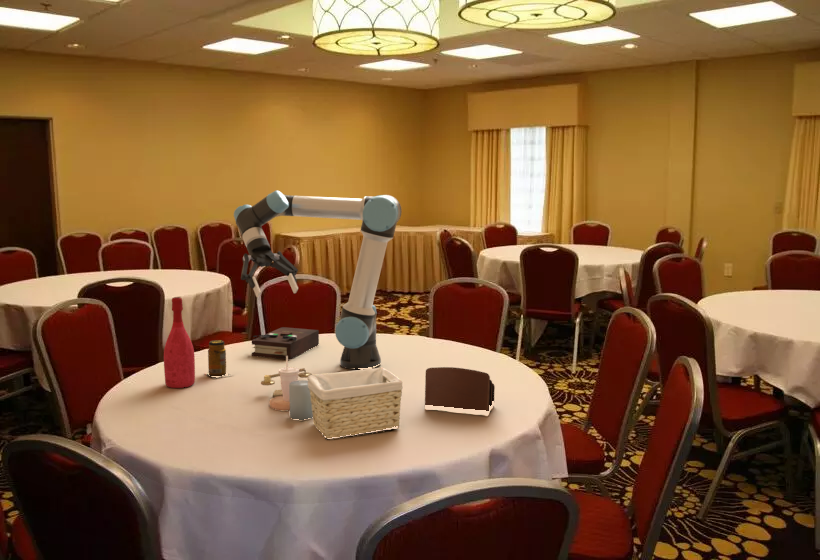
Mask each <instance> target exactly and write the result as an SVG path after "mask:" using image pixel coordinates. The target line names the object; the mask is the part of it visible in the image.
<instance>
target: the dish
mask: <svg viewBox="0 0 820 560" xmlns="http://www.w3.org/2000/svg"><path fill="white" fill-rule="evenodd" d="M269 407H270V408H271V409H272V410H275V409H276V411H281V410H288V411H287V412H290V406H289V402H286V401H284V400H283V395H282V396H277V397H272V398H271V399H270V400H269Z"/></svg>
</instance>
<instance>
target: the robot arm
mask: <svg viewBox="0 0 820 560" xmlns="http://www.w3.org/2000/svg"><path fill="white" fill-rule="evenodd" d="M282 216H283V217H301V218H303V217H304V218H319V219H321V218H322V219H323V218H324V219H338V220H340V219H341V220H355V221H356V220H358V221H360V220H361V221H362V222H361V226H360V232H361V234H362V235H363V237H362V241H361V244H360V245H361V246H360V249H359V254H358V259H357V262H356V268H355V271H354V276H353V279H352V284H351V289H350V292H349V298H348V301H347V302H346V303H344V304H343V305H342V308H341V313H340V317H339V320H338V322H337V324H336V325H335V329H334V330H335V331H334V333H335V337H336V340H337V341H338V343H339V344H340V345H342V346H343V350H342V353H341V356H340V360H339V363H340V364H341V365H340V364H339V365H340V366H341V367H342V366H343V367H342V368H344V367H346V368H345V369H347V368H355V369H358V368H368V367H373V366H376V365H378V364H380V363H381V361H382V359H381V355H380V353H379V350H378V346H377V314H378V312H377V307H376V305H374V300H375V296H376V293H377V288H378V284H379V281H380V280H379V279H380V275H381V271H382V268H383V264H384V258H385V255H386V250H387V246H388V242H390V241H391V240H393V239H394V235H395V232H396V227H397V224H398V222H399V221H400V219H401V216H402V205H401V203H400V201H398V199H397V198H396V197H394V196H392V195H390V194H380V195H376V196H374V195H373V196H369V195H368V196H367V195H365V196H364V197H363V198H354V197H353V198H350V197H331V196H329V197H327V196H310V195H309V196H308V195H290V194H288V195H287V194H283V192H281V191H280V190H274V191H272V192H271V193H268V194H267V195H266V196H265V197H263V198H262V199H261V200H259V201H258V202H256V203H255V204H254V205H251V204H242V205H239V206H238V207H236V209H234V211H233V217H234V220H235V225H236V226H237V228H238V230H239V233H240V235H241V238H242V240H243V242H244V245H245V247H246V250H247V252H248V253H244V254H243V257H242V264H243V265H242V267H241V275H240V280H241V281H245V282H246V283H247V284H248V285H249V287H250V288H251V289H253V292H254V295H255V297H256V298H260V296H261V293H262V290H261V289H260V285H259V283H258V281H257V278H256V276H254V273H255V272H256V270H257V268H258V267H261V268H262V267H263V268H264V267H271V268H274V269H276V270H277V271H279V272H281V274H283V275H286V277H287V278H286V279H287V281H288V283H289V286H290V287H291V290H292V292H293V294H297V292H298V290H299V286H298V283H297V282H298V280H297V278H296V275H297V273H298V271H299V269H298V268H297V267H296V266H294V264H292V262H290V261H289V260H288V259H287V258H286V257H285V255H283V253H282V251H277V253H273V251H272V248H271V245H270V243H269V241H268V239H267V236H266V234H265V232H264V229H263V227H262V226H264V225H266V224H267V223H268V222H270V221H271V220H273V219H274V218H277V217H282ZM250 261H252V263H253V266H252V267H251V269H250V271H249V273H248V274H247V272H248V267H249V262H250ZM381 364H382V363H381ZM355 369H354V370H355Z"/></svg>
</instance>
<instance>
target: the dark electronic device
mask: <svg viewBox="0 0 820 560" xmlns="http://www.w3.org/2000/svg"><path fill="white" fill-rule="evenodd" d="M319 332H320V331H319V329H307V328H298V327H297V328H296V327H295V328H294V327H286V326H285V327H284V326H282V327H280V328H277V329H275V330H272V331H270V332H268V333H265V334H259V335H253V336H252V337H253V339H251V345H252V346H253V347H252V349H254V351H253V352H251V356H252V357H257V356H258V357H259V358H268V359H269V358H270V359H278V360H279V359H280V360H286V356H288V361H289V360H293V359H295V358H296V357H298V356H301V355H303V354H304V352H305V353H307V352H309V351H310V350H312V349H314V348H316V347H318V346H319V345H318V344H320V343H319V342H320V337H319V336H320V333H319ZM255 337H256V338H255ZM317 345H318V346H317ZM315 346H316V347H315ZM313 347H314V348H313ZM311 348H312V349H311ZM309 349H310V350H309ZM306 351H307V352H306Z"/></svg>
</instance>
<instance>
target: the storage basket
mask: <svg viewBox="0 0 820 560" xmlns="http://www.w3.org/2000/svg"><path fill="white" fill-rule="evenodd" d="M307 381H308V388H309V390H310V395H311V403H312V411H313V412H312V414H313V418H312V423H313V425H315V426H316V427H317V428H318V429H317V428H316V427H315V426H314V427H315V428H316V429H317V431H318V430H320V432H321V433H323V435H324V436H326V438H332V437H340V436H346V435H350V434H351V435H355V434H359V433H366V432H371V431H376V430H383V429H386V428H392V427H394V426H395V427H396V426H399V427H400V419H401V418H400V415H401V413H400V412H401V404H402V403H401V401H402V393H403V392H402V390H403V381H402V380H401V379H400V378H399V377H398V376H397V375H395V374H394V373H393V372H391V370H388V369H386V368H384V367H380V366H379V367H376V368H373V369H363V370H355V369H354V370H348V371H340V372H339V371H338V372H327V373H326V372H325V373H319V374H318V373H317V374H313V373H312V375H310V376H308V378H307ZM320 432H319V433H320ZM321 433H320V434H321ZM323 435H322V436H323Z"/></svg>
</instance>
